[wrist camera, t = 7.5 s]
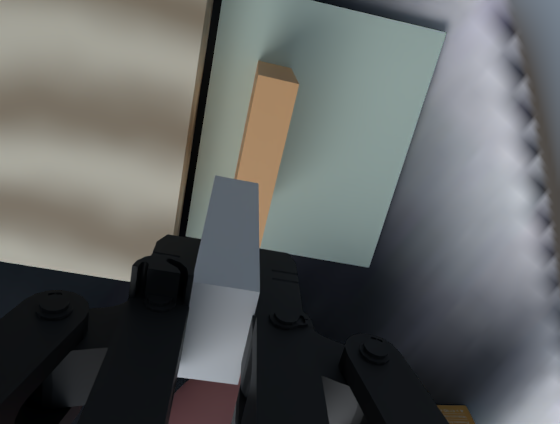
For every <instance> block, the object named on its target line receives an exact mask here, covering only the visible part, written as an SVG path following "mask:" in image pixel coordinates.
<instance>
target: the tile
mask: <svg viewBox="0 0 560 424" xmlns="http://www.w3.org/2000/svg"><path fill="white" fill-rule="evenodd" d="M298 87H299V83H298V81H297V79H296V77H295V75H294V73H293V71H292V69H291V68H289V67H284V66H280V65H276V64H271V63H267V62H263V61H259V60H258V64H257V69H256V73H255V78H254V83H253V88H252V93H251V98H250V103H249V108H248V113H247V118H246V123H245V128H244V133H243V138H242V143H241V148H240V152H239V157H238V162H237V167H236V172H235V177H234V179H237V180H243V181H248V182H254V183H258V184H259V248H260V246H261V242H262V238H263V234H264V230H265V225H266V221H267V217H268V213H269V209H270V205H271V200H272V196H273V192H274V188H275V184H276V179H277V175H278V171H279V167H280V163H281V159H282V154H283V150H284V146H285V142H286V138H287V133H288V129H289V125H290V121H291V117H292V113H293V108H294V104H295V100H296V96H297V92H298Z"/></svg>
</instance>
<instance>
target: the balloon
mask: <svg viewBox="0 0 560 424" xmlns="http://www.w3.org/2000/svg"><path fill="white" fill-rule="evenodd" d="M240 381H241V374H240V378H239V383H238V385H235V384H227V383H220V382H212V381H204V380H196V379H189V380H188V381H187V382H186V383H185V384H184V385H183V386H181V387H180V388H179V389H178V390H177V391H176V393H175V394H174V398H173V403H172V408H171V413H170V418H169V423H168V424H231V422H232V417H233V413H234V409H235V405H236V401H237V396H238V392H239V388H240Z"/></svg>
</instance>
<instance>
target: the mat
mask: <svg viewBox="0 0 560 424" xmlns="http://www.w3.org/2000/svg"><path fill="white" fill-rule="evenodd" d="M445 36H446V32H442V31H438V30H434V29H430V28H425V27H421V26H417V25H413V24H409V23H405V22H400V21H396V20H392V19H388V18H384V17H379V16H375V15H371V14H367V13H363V12H358V11H354V10H350V9H346V8H342V7H337V6H333V5H329V4H325V3H321V2H316V1H312V0H222V4H221V10H220V17H219V23H218V30H217V36H216V43H215V49H214V56H213V62H212V69H211V75H210V82H209V88H208V95H207V101H206V107H205V114H204V120H203V127H202V133H201V140H200V146H199V153H198V159H197V166H196V172H195V179H194V185H193V192H192V198H191V204H190V211H189V217H188V224H187V230H186V236H187V237H193V238H198V239H201V238H202V233H203V229H204V224H205V220H206V215H207V210H208V206H209V201H210V197H211V192H212V188H213V183H214V179H215V175H216V176H221V177H227V178H232V179H234V177H235V172H236V167H237V162H238V157H239V152H240V148H241V143H242V138H243V133H244V128H245V123H246V118H247V113H248V108H249V103H250V98H251V93H252V88H253V83H254V78H255V73H256V69H257V64H258V60H259V61H263V62H267V63H271V64H276V65H280V66H284V67H289V68H291V69H292V71H293V73H294V75H295V77H296V79H297V81H298V83H299V87H298V92H297V96H296V100H295V104H294V108H293V113H292V117H291V121H290V125H289V129H288V133H287V138H286V142H285V146H284V150H283V154H282V159H281V163H280V167H279V171H278V175H277V179H276V184H275V188H274V192H273V196H272V200H271V205H270V209H269V213H268V217H267V221H266V225H265V230H264V234H263V238H262V242H261V246H260V248H261V249H267V250H273V251H279V252H285V253H288V254H292V255H298V256H304V257H310V258H315V259H321V260H327V261H333V262H339V263H345V264H350V265H356V266H362V267H368V268H369V266H370V263H371V260H372V257H373V254H374V251H375V248H376V245H377V242H378V239H379V236H380V233H381V230H382V227H383V224H384V221H385V218H386V215H387V212H388V209H389V206H390V203H391V200H392V197H393V194H394V191H395V187H396V184H397V181H398V178H399V175H400V172H401V169H402V166H403V163H404V160H405V157H406V154H407V151H408V148H409V145H410V142H411V139H412V136H413V133H414V130H415V127H416V124H417V121H418V118H419V115H420V112H421V109H422V106H423V103H424V100H425V97H426V94H427V91H428V88H429V84H430V81H431V78H432V75H433V72H434V69H435V66H436V63H437V60H438V57H439V54H440V51H441V48H442V45H443V42H444V39H445Z"/></svg>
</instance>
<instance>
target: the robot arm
mask: <svg viewBox="0 0 560 424" xmlns="http://www.w3.org/2000/svg"><path fill="white" fill-rule="evenodd" d="M298 283H299V281H298V276H297V267H296V263H295V261H294V260H293V259H292V258H291V256H290V255H289V254H288V253H285V252H279V251H273V250H267V249H261V248H259V184H258V183H254V182H248V181H243V180H237V179H232V178H227V177H221V176H216V175H215V179H214V183H213V188H212V192H211V197H210V201H209V206H208V210H207V215H206V220H205V224H204V229H203V233H202V238H201V240H199V239H193V238H187V237H181V236H175V235H169V234H167V235H166V236H164V237H163V238H161V239H160V240H158V241H157V242H156V245H155V247H154V250H153V253H152V255H151V256H145V257H143V258H141V259H139V260H137V261H136V262H135V263H134V264H133V265H132V271H131V280H130V290H129V298H128V301H127V302H125V303H123V304H120V305H117V306H113V307H106V308H93V309H89V305H88V302H87V301H86V300H85V299H84V298H83V297H82V296H80V295H78V294H76V293H74V292H69V291H63V290H52V291H45V292H41V293H37V294H34V295H32V296H31V297H29V298H27V299H25V300H24V301H23V302H21V303H20V304H19V305H18V306H16V307H15V308H14V309H12V310H11V311H10V312H9V313H7V314H6V315H5V316H4V317H2V318H1V319H0V424H71V423H72V421H73V420H74V419H75V418H76V416H77V415H78V414H79V412H80V409H81V407H82V405H85V406H84V408H83V411H82V413H81V416H80V418H79V421H78V423H77V424H168V423H169V418H170V413H171V408H172V403H173V398H174V392H175V387H176V381H177V377H181V378H189V379H196V380H204V381H212V382H220V383H227V384H235V385H238V383H239V378H240V374H241V381H240V388H239V392H238V396H237V401H236V405H235V409H234V413H233V417H232V422H231V424H449V422H448V421H447V419H446V418H445V417H444V415H443V414H442V412H441V411H440V409H439V408H438V407H437V405H436V404H435V402H434V401H433V399H432V398H431V397H430V395H429V394H428V392H427V391H426V389H425V388H424V386H423V385H422V384H421V382H420V381H419V379H418V378H417V376H416V375H415V374H414V372H413V371H412V369H411V368H410V366H409V365H408V364H407V362H406V361H405V359H404V358H403V356H402V355H401V353H400V352H399V351H398V350H397V349H396V348H395V347H394V346H393V345H392V344H391V343H389V342H387V341H386V340H384V339H383V338H380V337H377V336H374V335H371V334H363V333H361V334H355V335H352V336H351V337H349V338H348V339H347V341H346V344H345V345H344V344H341V343H339V342H336V341H333V340H331V339H328V338H326V337H324V336H322V335H320V334H319V333H317V332H316V331H314V328H313V324H312V321H311V319H310V317H309V316H308V315H307V314H305V313H304V312H303V308H302V301H301V295H300V288H299V284H298Z"/></svg>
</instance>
